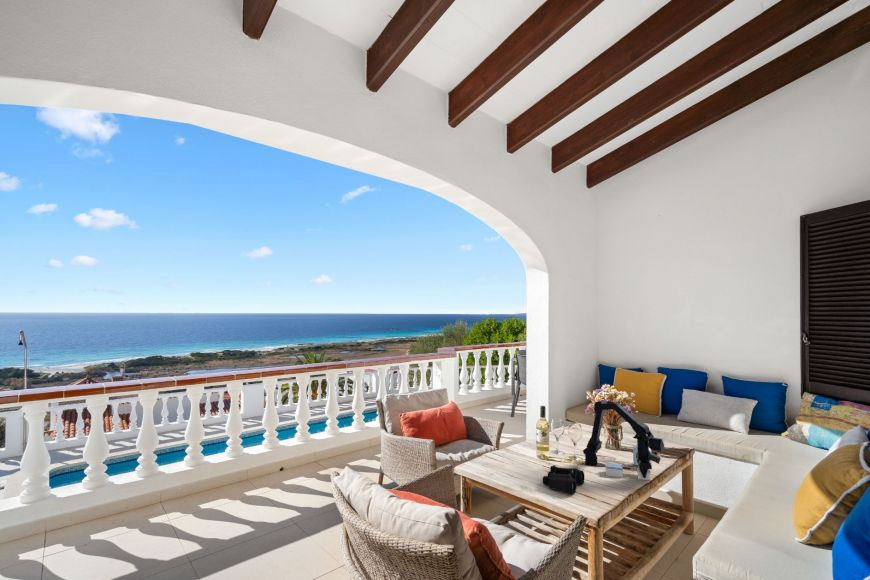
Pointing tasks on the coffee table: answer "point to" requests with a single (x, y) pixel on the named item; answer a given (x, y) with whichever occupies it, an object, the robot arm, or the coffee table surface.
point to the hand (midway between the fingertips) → (643, 476)
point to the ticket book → (614, 470)
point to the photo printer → (635, 455)
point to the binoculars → (564, 479)
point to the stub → (642, 476)
